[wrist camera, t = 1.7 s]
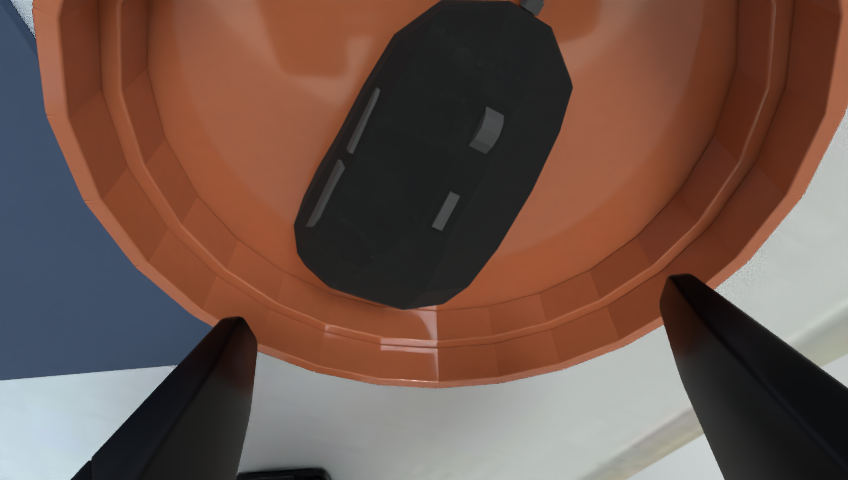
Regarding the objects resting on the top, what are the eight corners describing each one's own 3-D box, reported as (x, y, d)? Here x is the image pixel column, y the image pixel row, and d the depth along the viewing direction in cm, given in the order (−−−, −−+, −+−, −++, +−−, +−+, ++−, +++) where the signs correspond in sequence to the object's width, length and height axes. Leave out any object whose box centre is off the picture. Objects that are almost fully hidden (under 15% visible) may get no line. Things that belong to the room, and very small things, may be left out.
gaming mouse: (695, -42, 12) (786, 8, 9) (419, 299, 21) (419, 381, 18) (486, -204, 10) (515, -207, 7) (277, 250, 19) (251, 333, 16)
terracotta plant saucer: (679, 296, 21) (717, 366, 19) (261, 334, 23) (240, 404, 20) (934, -429, 8) (1179, -539, 6) (-77, -228, 10) (-260, -239, 7)
